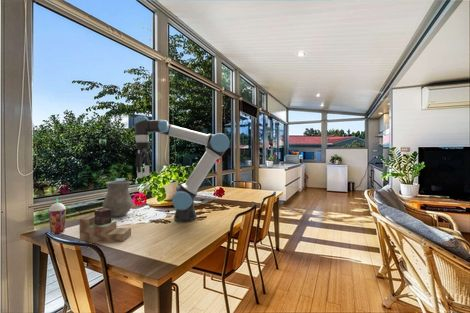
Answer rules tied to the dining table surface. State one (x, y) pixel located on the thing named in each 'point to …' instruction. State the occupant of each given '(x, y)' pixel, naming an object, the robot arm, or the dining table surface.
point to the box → (103, 216)
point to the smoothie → (57, 217)
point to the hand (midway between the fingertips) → (143, 176)
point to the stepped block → (101, 231)
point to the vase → (118, 198)
